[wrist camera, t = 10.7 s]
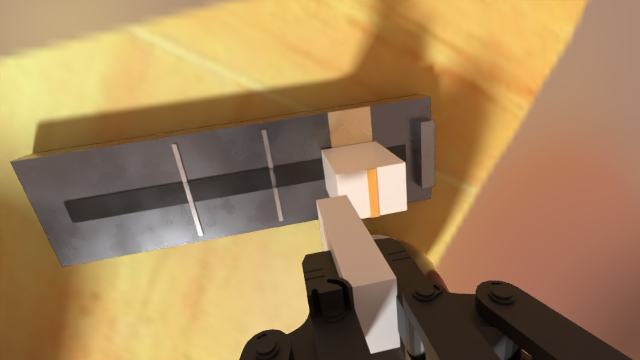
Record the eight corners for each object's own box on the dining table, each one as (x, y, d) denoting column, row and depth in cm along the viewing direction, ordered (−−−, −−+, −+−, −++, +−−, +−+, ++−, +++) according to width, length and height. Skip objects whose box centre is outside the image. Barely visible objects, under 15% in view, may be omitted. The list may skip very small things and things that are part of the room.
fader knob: (326, 188, 24) (342, 223, 19) (320, 150, 23) (336, 175, 18) (377, 179, 24) (407, 211, 19) (375, 140, 23) (406, 163, 18)
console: (77, 251, 25) (53, 275, 22) (31, 153, 22) (-3, 166, 19) (420, 189, 28) (437, 203, 25) (418, 94, 25) (437, 98, 22)
